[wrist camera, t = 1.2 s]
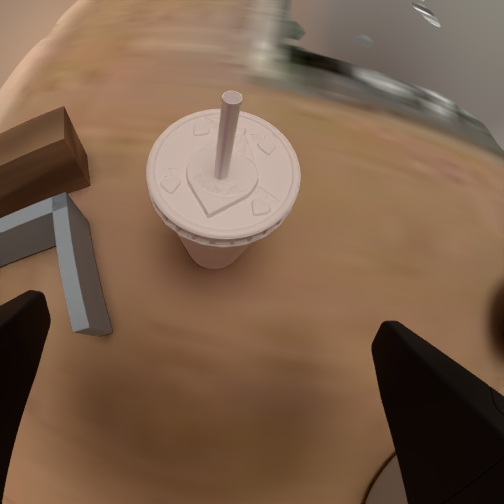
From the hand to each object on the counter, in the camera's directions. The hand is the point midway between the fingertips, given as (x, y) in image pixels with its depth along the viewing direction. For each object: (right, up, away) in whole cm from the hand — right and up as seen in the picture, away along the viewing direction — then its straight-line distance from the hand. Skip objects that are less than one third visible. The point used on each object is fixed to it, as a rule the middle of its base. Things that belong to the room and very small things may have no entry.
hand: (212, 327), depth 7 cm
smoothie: (-2, +2, +14) cm, 14 cm away
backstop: (-17, +7, +13) cm, 22 cm away
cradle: (-14, -2, +11) cm, 17 cm away
